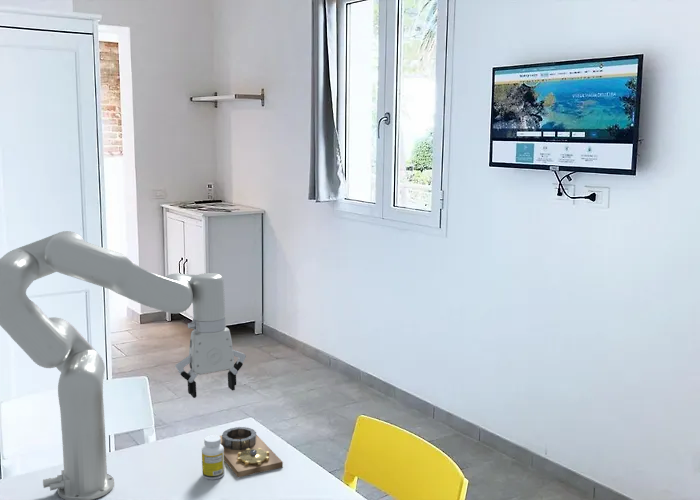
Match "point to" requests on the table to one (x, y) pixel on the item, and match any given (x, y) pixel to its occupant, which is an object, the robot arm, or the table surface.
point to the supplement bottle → (212, 458)
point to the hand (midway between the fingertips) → (212, 392)
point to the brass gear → (253, 456)
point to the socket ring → (239, 444)
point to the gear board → (243, 470)
